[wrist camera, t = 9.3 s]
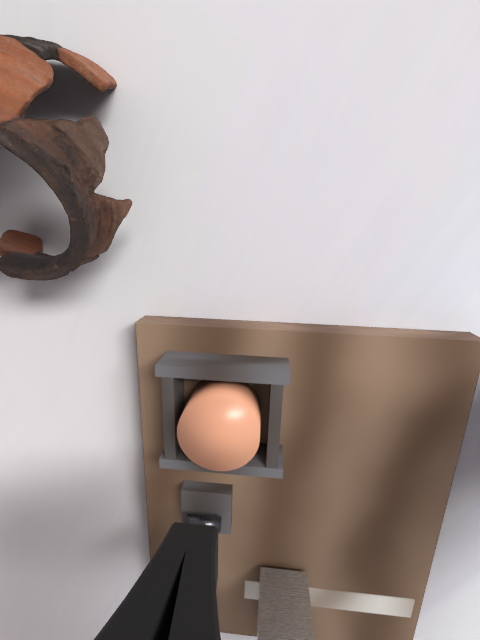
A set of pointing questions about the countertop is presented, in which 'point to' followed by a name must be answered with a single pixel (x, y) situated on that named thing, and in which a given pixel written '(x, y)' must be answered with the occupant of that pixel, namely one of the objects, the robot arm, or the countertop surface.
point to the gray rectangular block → (284, 605)
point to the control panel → (314, 460)
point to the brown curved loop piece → (55, 159)
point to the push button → (220, 425)
